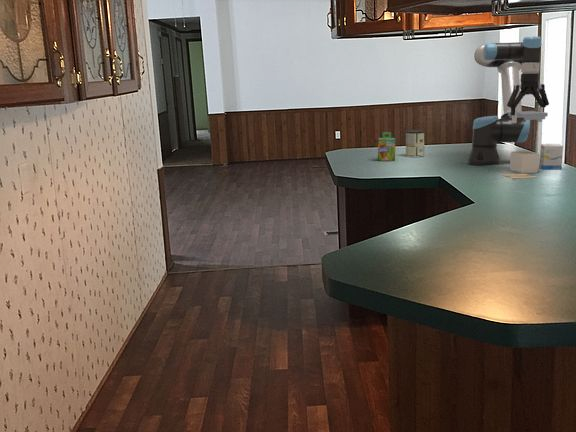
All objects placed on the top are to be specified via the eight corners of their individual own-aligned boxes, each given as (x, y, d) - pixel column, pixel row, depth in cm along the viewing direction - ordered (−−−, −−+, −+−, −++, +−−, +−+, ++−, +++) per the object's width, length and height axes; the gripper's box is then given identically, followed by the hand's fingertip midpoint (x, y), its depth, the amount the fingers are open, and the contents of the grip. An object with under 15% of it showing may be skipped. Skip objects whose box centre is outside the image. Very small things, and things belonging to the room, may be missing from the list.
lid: (507, 118, 286) (508, 112, 285) (531, 117, 288) (531, 111, 287) (522, 120, 274) (523, 113, 273) (547, 119, 277) (547, 112, 276)
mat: (501, 176, 277) (501, 174, 276) (523, 175, 279) (523, 173, 279) (513, 180, 267) (513, 178, 267) (536, 178, 269) (537, 176, 269)
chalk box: (377, 161, 331) (378, 133, 328) (377, 158, 340) (377, 131, 337) (395, 161, 330) (395, 133, 326) (394, 158, 339) (395, 131, 335)
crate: (509, 171, 290) (511, 151, 288) (525, 170, 292) (526, 150, 290) (522, 174, 281) (523, 154, 279) (538, 173, 282) (539, 153, 280)
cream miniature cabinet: (409, 154, 354) (409, 129, 351) (426, 155, 349) (427, 129, 346) (402, 156, 346) (402, 131, 343) (420, 157, 340) (420, 131, 337)
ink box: (561, 171, 287) (563, 145, 285) (542, 170, 289) (544, 145, 286) (557, 168, 296) (559, 143, 293) (538, 168, 297) (540, 143, 295)
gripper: (509, 73, 270) (506, 124, 275) (559, 72, 275) (556, 121, 280) (500, 73, 278) (497, 122, 283) (549, 72, 282) (546, 120, 287)
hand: (526, 122), depth 281 cm, fingers closed on lid, 12 cm apart
